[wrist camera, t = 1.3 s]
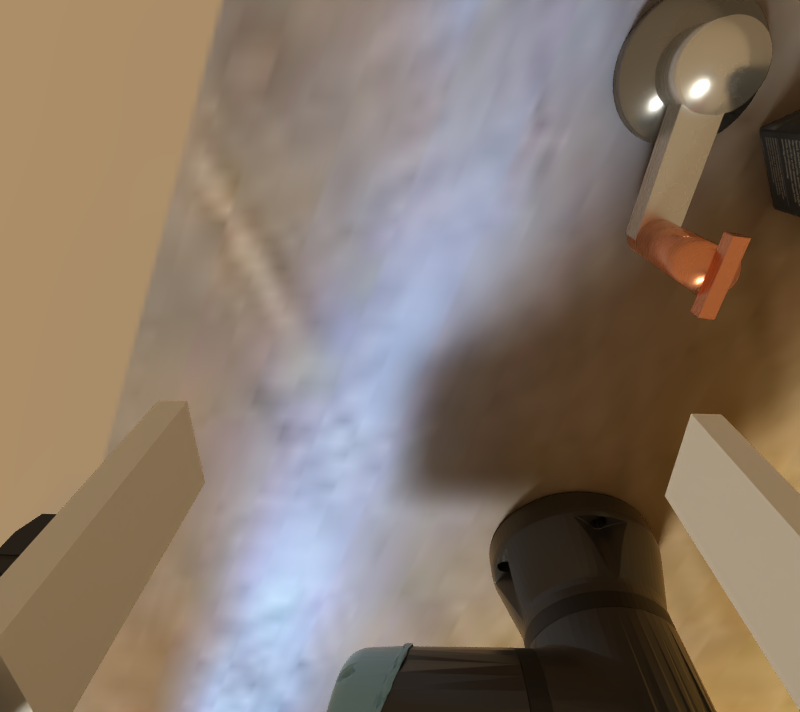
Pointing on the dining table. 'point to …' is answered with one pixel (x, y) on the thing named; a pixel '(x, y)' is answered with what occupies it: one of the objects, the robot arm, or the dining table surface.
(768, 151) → the box
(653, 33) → the crank base
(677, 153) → the crank
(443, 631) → the dining table surface
